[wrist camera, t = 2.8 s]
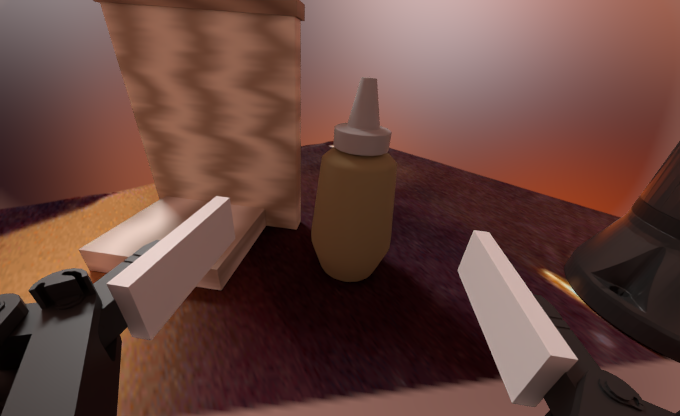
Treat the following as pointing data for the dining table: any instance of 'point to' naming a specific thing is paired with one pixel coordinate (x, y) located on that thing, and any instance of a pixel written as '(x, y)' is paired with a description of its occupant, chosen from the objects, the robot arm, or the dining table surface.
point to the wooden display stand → (210, 118)
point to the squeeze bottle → (355, 193)
